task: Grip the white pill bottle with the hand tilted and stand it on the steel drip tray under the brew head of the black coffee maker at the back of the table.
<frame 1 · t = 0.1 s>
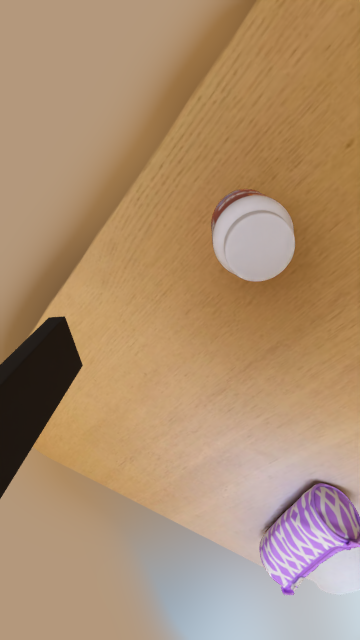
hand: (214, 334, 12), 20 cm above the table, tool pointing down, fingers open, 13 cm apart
pill bottle: (240, 221, 28), on the table
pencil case: (296, 509, 53), on the table
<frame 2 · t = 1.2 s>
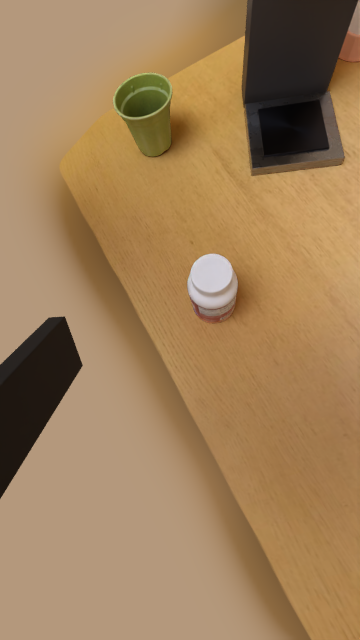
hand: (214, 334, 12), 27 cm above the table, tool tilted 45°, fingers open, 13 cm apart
coffee maker: (289, 137, 47), on the table
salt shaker: (354, 48, 50), on the table
pill bottle: (213, 304, 41), on the table
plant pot: (155, 145, 51), on the table
drip tray: (289, 137, 47), on the table
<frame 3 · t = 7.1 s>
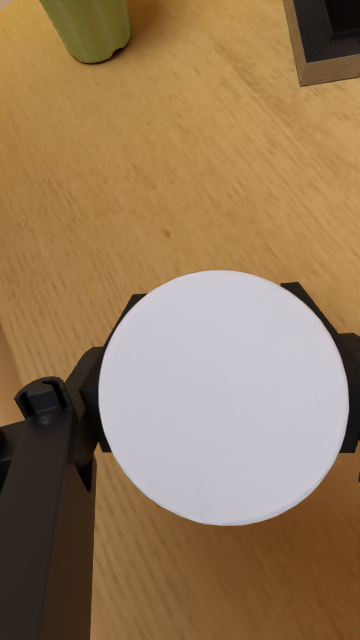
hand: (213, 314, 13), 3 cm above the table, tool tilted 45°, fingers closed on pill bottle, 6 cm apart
pill bottle: (219, 392, 16), on the table, touching gripper
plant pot: (100, 44, 26), on the table
when the fingers open (5 cm above the table, at t = 18.2 s): pill bottle stays where it is, resting on drip tray.
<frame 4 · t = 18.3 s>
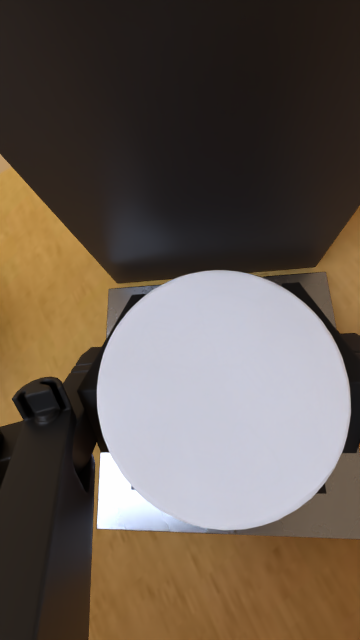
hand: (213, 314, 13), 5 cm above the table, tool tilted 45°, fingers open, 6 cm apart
coffee maker: (218, 392, 17), on the table
pill bottle: (218, 393, 16), point 2 cm above the table, touching drip tray
drip tray: (218, 392, 17), on the table
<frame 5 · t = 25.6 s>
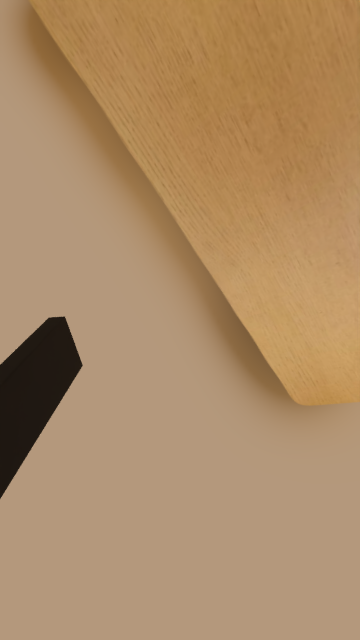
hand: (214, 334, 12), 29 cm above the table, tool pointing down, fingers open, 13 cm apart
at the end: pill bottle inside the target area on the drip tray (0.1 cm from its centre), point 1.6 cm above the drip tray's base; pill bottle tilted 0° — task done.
